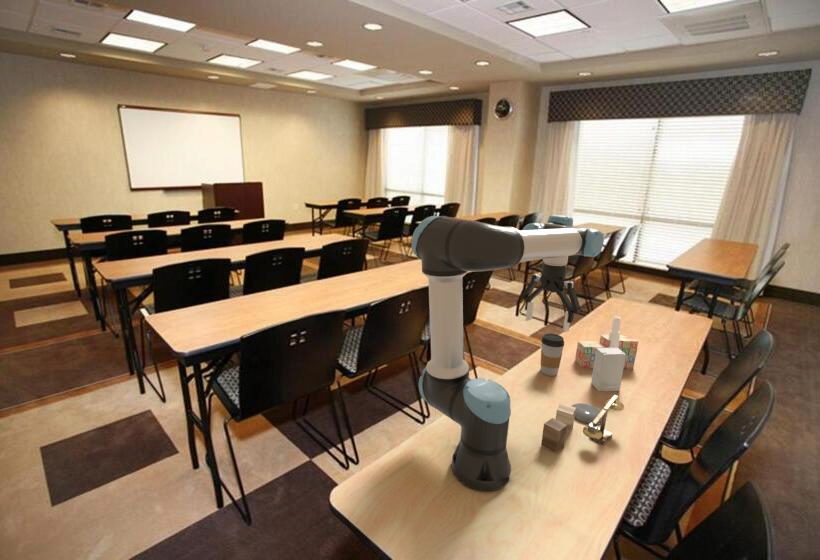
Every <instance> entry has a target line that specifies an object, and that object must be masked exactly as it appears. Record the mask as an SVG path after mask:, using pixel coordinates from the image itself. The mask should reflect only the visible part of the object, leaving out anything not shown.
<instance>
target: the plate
mask: <svg viewBox="0 0 820 560" xmlns="http://www.w3.org/2000/svg"><path fill="white" fill-rule="evenodd" d="M571 406H572V407H575V408H576V412H575V418H574V420H577V421H578V422H581V423H583V424H587V425H589V424H591V423H592V422H593V421H594V419H595V418H596V417H597V416H598V414H599V413H600V412H601V411H602V409H600V408H598V407H596V406H594V405H591V404H587V403H579V402H578V403H574V404H572V405H571ZM599 424H600V425H601V420H600V421H599V423H598V424H597V425H599Z"/></svg>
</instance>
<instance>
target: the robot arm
mask: <svg viewBox="0 0 820 560" xmlns="http://www.w3.org/2000/svg"><path fill="white" fill-rule="evenodd" d="M573 225H574V218H573V217H572V216H570V215H560V214H551V215H549V216H548V219H547V222H537V221H535V222H533V223H532V222H531V223H528V224H526V225H525V226H524V227H522V230H521V229H520V230H519V229H517V228H515V227H514V226H502V225H494V224H490V223H486V222H480V221H478V220H469V219H463V218H457V217H451V216H448V215H431V216H427V217H425V218H423V220H422V221H420V222H419V224H418V226H417V227H416V228H415V229H414V231H413V234H412V238H411V249H412V253H413V254H414V255H415V256H416V257H417V258H418V259H419V260H421V272H422V274H423V275H424V276H425V277H426V278H427V279H428V300H429V301H428V303H429V305H428V306H429V326H430V327H429V328H430V331H429V332H430V355H431V356H430V357H431V359H430V360H429V361H428V362H427V363H426V367H424V368H423V369H422V372H421V373H422V375H419V376H420V377H419V380H418V390H419V394H420V396H421V399H423V400H424V401H425V402H426V403H427V404H428V405H429V406H430V407H432V408H433V409H436V410H437V411H438V412H440V413H442V414H443V415H444V416H446V417H447V418H449V419H450V420H452V422H453V421H454V423H456V424H458V425H459V426H460V427H461V428H460V440H459V441H458V443H457V445H456V447H455V450H454V452H453V455H452V460H451V469H452V473H453V475H454V476H455V478H456V479H457V480H458V481H459V482H460V483H462V484H463V485H465V486H467V487H469V488H471V489H474V490H478V491H487V492H488V491H496V490H499V489H501V488H503V487H504V486H506V485H507V484H508V483H509V481H510V477H511V471H512V466H511V465H512V464H511V462H510V459H509V454H508V449H507V444H508V443H507V442H508V434H509V427H510V426H509V424H510V417H511V413H512V412H511V411H512V409H511V396H510V394H509V392H508V391H507V389H506V388H505V387H504V386H503V385H501V384H499V383H498V382H496V381H494V380H492V379H485V378H482V377H478V378H472V379H471V378H470V365H469V363H468V362H467V361H466V360H465V359H464V325H463V324H464V314H463V313H464V312H463V311H464V310H463V309H464V305H463V303H464V302H463V300H464V298H463V297H464V296H463V295H464V293H463V289H464V288H463V279H464V278H463V277H465V276H466V275H467V273H468V272H471V273H472V272H473V273H474V272H475V273H477V272H488V271H489V272H490V271H497V270H504V269H509V268H515V267H516V266H518V265H519V264H520V263H522V262H530V261H538V260H542V262H543V263H542V267H541V275H540V274H538V273H535V274H532V275H531V279H530V282H529V283H528V284H527V286H526V288H525V289H524V291H523V292H522V294H521V296H520V298H521V299H523V300H524V302H525V306H524V310H525V311H526V314H525V315H526V316H525V321H527V322H529V321H531V320H533V310H534V304H535V302H534V301H533V300H534V299H535V298H536V297H537V296H539V295H540V294H541V293H542V292H543V291H544V290H545V291H546V292H551V293H555V294H557V296H558V297H559V298H560V301H561V303H562V304H563V306H564V307H565V310H566V311H567V312H565V313H564V314H565V315H564V322H563V326H562V327H563V329H562V332H563V333H568V332H569V331H570V326H571V323H573V321H574V319H575V318H574V317H575V314H578V313H580V312H582V308H581V305H580V302H579V298H578V296H577V293H576V290H575V283H576V282H575V281H566V277H567V276H566V275H567V269H568V266H567V264H568V262H569V260H568V259H569V256H584V257H590V258H591V257H592V258H594V257H597V256H598V255H600V253H601V252H602V250H603V247H604V240H605V238H604V234H603V232H602V231H600V230H598V229H595V228H591V227H589V228H588V227H587V228H586V227H579V226H573ZM539 281H540V285H539V286H538V287H537V288H536V289H534V288H535V286H536V285H537V283H538V282H539ZM564 287H565V288H566V289H567V291H566V290H565V288H564ZM533 290H534V291H533ZM532 291H533V292H532ZM566 292H567V293H568V295H567V293H566Z"/></svg>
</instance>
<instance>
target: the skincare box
mask: <svg viewBox="0 0 820 560" xmlns="http://www.w3.org/2000/svg"><path fill="white" fill-rule="evenodd" d="M625 356H626V354H625V353H623V352H622V351H621V350H620V349H619V348H596V353H595V360H594V367H593V368H592V375H591V382H590V383H591V385H593V386H594V388H595V389H596V390H597V392H620V391H621V387H622V386H621V385H622V384H621V383H622V379H623V375H624V373H623V372H624V369H625V368H624V362H625Z"/></svg>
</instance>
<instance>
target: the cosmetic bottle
mask: <svg viewBox="0 0 820 560" xmlns="http://www.w3.org/2000/svg"><path fill="white" fill-rule="evenodd" d="M621 322H622V319H621V316H617V315H615V316H614V318H613V319H612V325H611V329H610V330H609V333H608V335H609V337H608V339H609V340H611V343H610V347H609V348H619V340H620V335H621V331H620V329H621V324H622V323H621Z"/></svg>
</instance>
